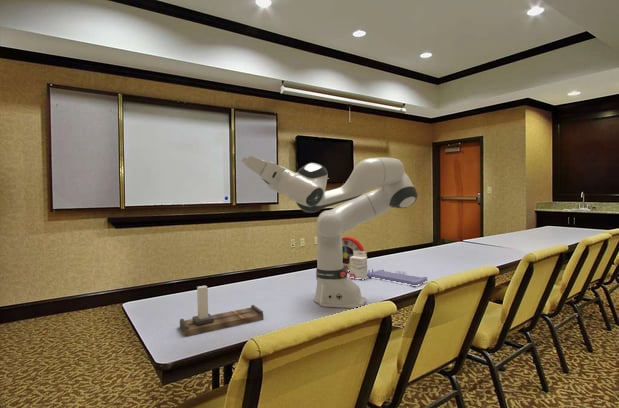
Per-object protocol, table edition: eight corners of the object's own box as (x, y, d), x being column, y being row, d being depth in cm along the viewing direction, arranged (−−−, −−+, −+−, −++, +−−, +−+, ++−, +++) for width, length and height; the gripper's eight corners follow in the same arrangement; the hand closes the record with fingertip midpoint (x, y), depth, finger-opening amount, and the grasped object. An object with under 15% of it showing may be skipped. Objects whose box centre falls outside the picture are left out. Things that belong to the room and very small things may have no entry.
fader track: (253, 311, 142) (252, 304, 142) (263, 319, 134) (263, 311, 134) (179, 326, 128) (179, 318, 127) (186, 336, 119) (186, 327, 119)
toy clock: (329, 271, 211) (328, 237, 210) (331, 269, 216) (331, 236, 215) (362, 273, 204) (362, 238, 203) (364, 271, 209) (364, 237, 209)
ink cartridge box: (349, 278, 193) (348, 251, 192) (353, 276, 197) (352, 250, 197) (363, 280, 188) (363, 252, 188) (367, 278, 193) (367, 251, 192)
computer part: (378, 273, 205) (363, 278, 194) (378, 266, 204) (363, 271, 194) (428, 282, 184) (414, 288, 173) (428, 274, 184) (414, 280, 173)
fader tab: (209, 316, 131) (208, 283, 131) (214, 321, 126) (213, 287, 125) (192, 320, 128) (191, 286, 127) (196, 325, 123) (195, 290, 122)
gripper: (296, 180, 133) (268, 166, 139) (270, 160, 114) (240, 145, 120) (287, 195, 132) (260, 181, 138) (261, 177, 114) (230, 161, 120)
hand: (250, 164), depth 129 cm, fingers open, 8 cm apart
